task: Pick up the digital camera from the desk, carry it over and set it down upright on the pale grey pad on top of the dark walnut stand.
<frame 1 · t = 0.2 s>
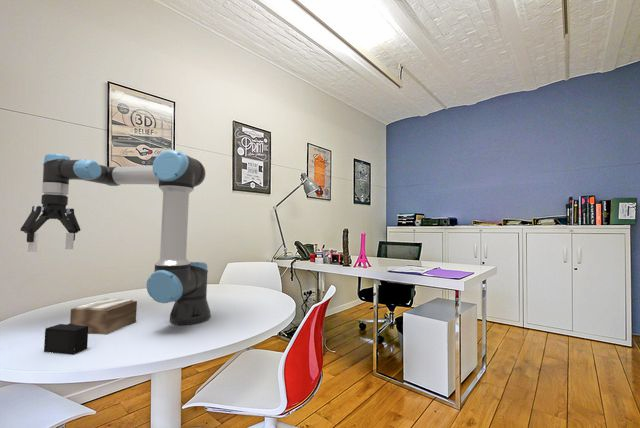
hand: (51, 250, 112), 28 cm above the table, tool pointing down, fingers open, 13 cm apart
walnut stand: (104, 326, 108), on the table
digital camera: (68, 350, 88), on the table
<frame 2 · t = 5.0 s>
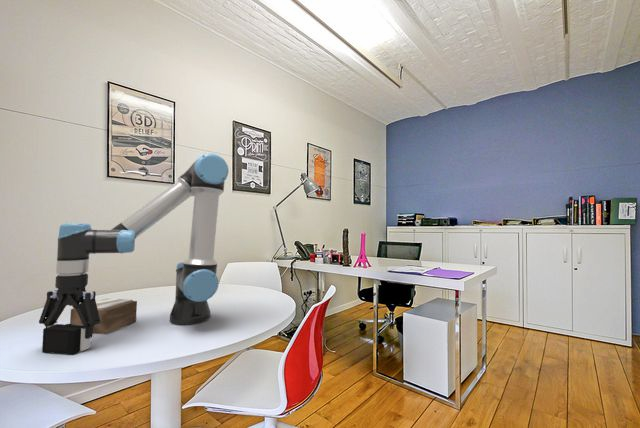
hand: (68, 348, 88), 0 cm above the table, tool pointing down, fingers closed on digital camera, 10 cm apart
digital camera: (66, 350, 87), on the table, touching gripper
when the fingers open (11 cm above the table, at t = 9.9 s): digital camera drops 2 cm, resting on walnut stand.
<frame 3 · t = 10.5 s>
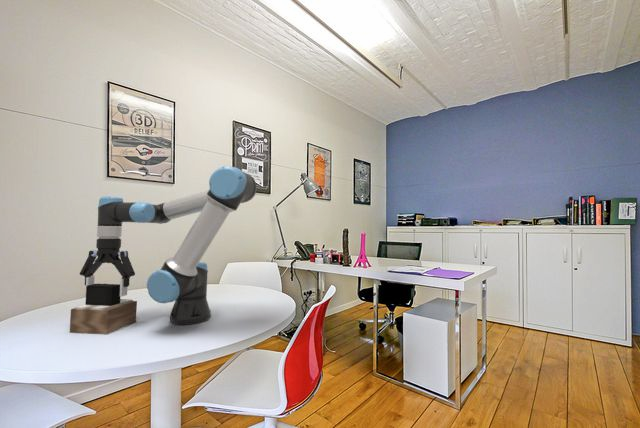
hand: (106, 295, 109), 12 cm above the table, tool pointing down, fingers open, 13 cm apart
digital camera: (104, 304, 108), point 8 cm above the table, touching walnut stand
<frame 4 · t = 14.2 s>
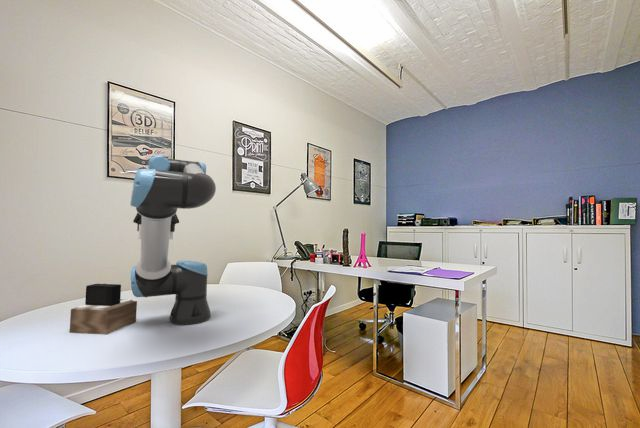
hand: (155, 239, 131), 32 cm above the table, tool pointing down, fingers open, 13 cm apart
nothing on the table moved.
at the end: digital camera inside the target area on the walnut stand (0.7 cm from its centre), point 8.4 cm above the walnut stand's base; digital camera tilted 0°; the gripper is holding nothing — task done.
